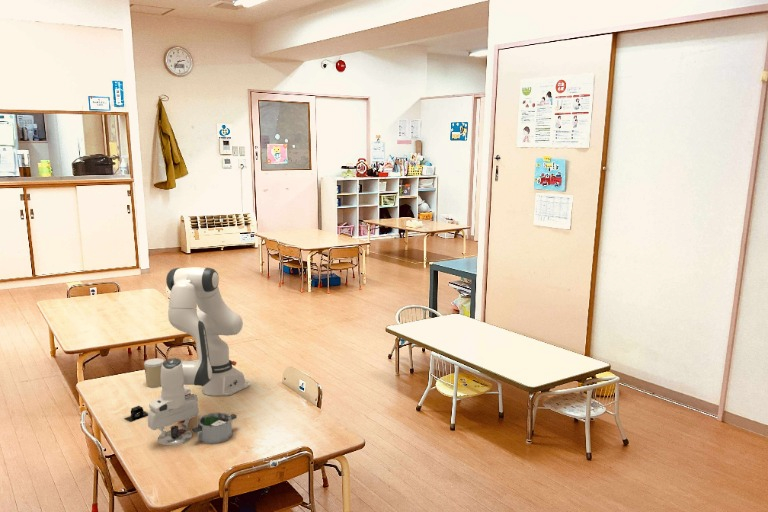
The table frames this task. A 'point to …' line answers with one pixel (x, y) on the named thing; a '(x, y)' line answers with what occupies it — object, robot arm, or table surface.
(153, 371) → the coffee cup
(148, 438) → the table surface
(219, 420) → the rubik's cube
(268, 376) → the table surface
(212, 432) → the pot
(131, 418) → the black stepped block
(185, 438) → the lid
